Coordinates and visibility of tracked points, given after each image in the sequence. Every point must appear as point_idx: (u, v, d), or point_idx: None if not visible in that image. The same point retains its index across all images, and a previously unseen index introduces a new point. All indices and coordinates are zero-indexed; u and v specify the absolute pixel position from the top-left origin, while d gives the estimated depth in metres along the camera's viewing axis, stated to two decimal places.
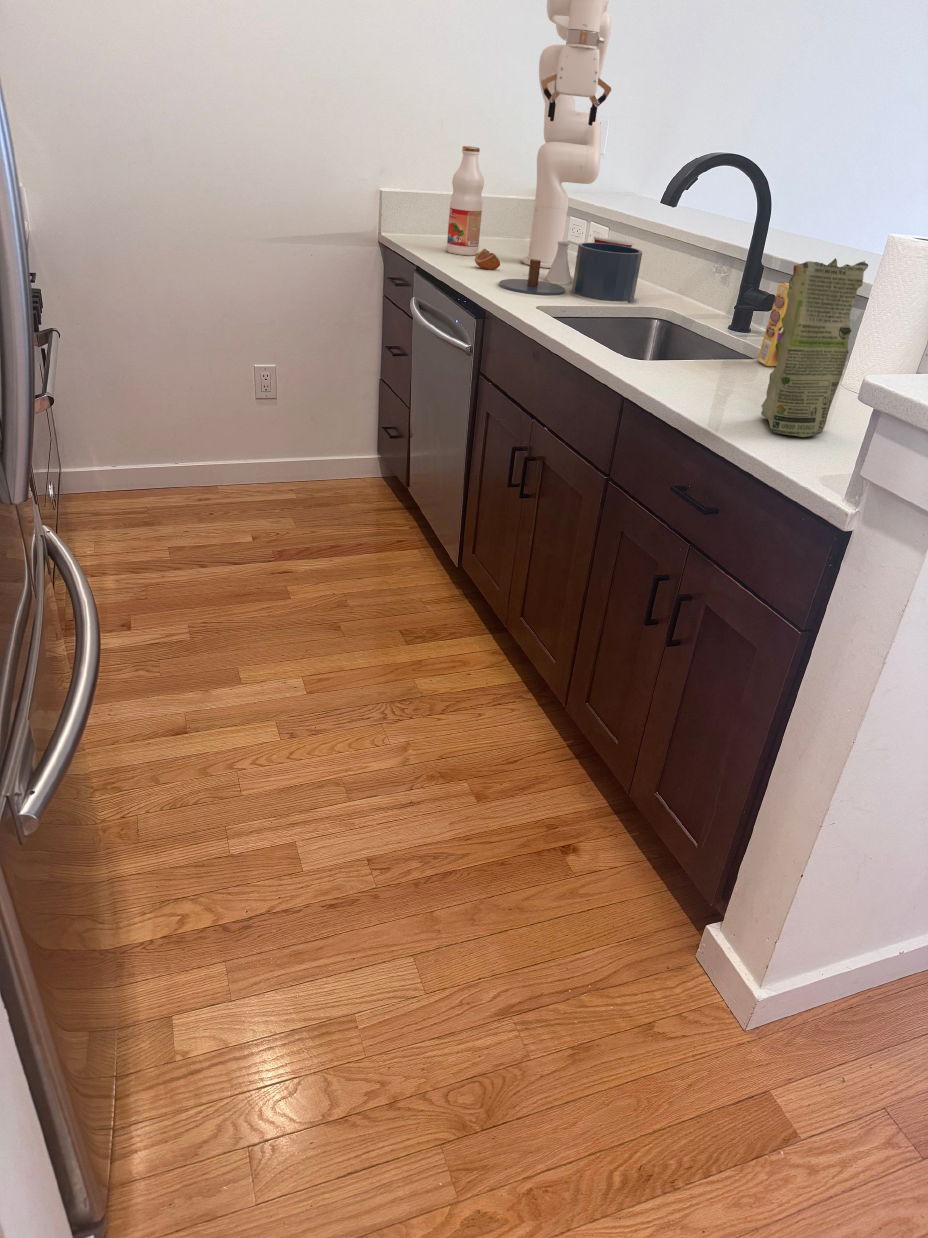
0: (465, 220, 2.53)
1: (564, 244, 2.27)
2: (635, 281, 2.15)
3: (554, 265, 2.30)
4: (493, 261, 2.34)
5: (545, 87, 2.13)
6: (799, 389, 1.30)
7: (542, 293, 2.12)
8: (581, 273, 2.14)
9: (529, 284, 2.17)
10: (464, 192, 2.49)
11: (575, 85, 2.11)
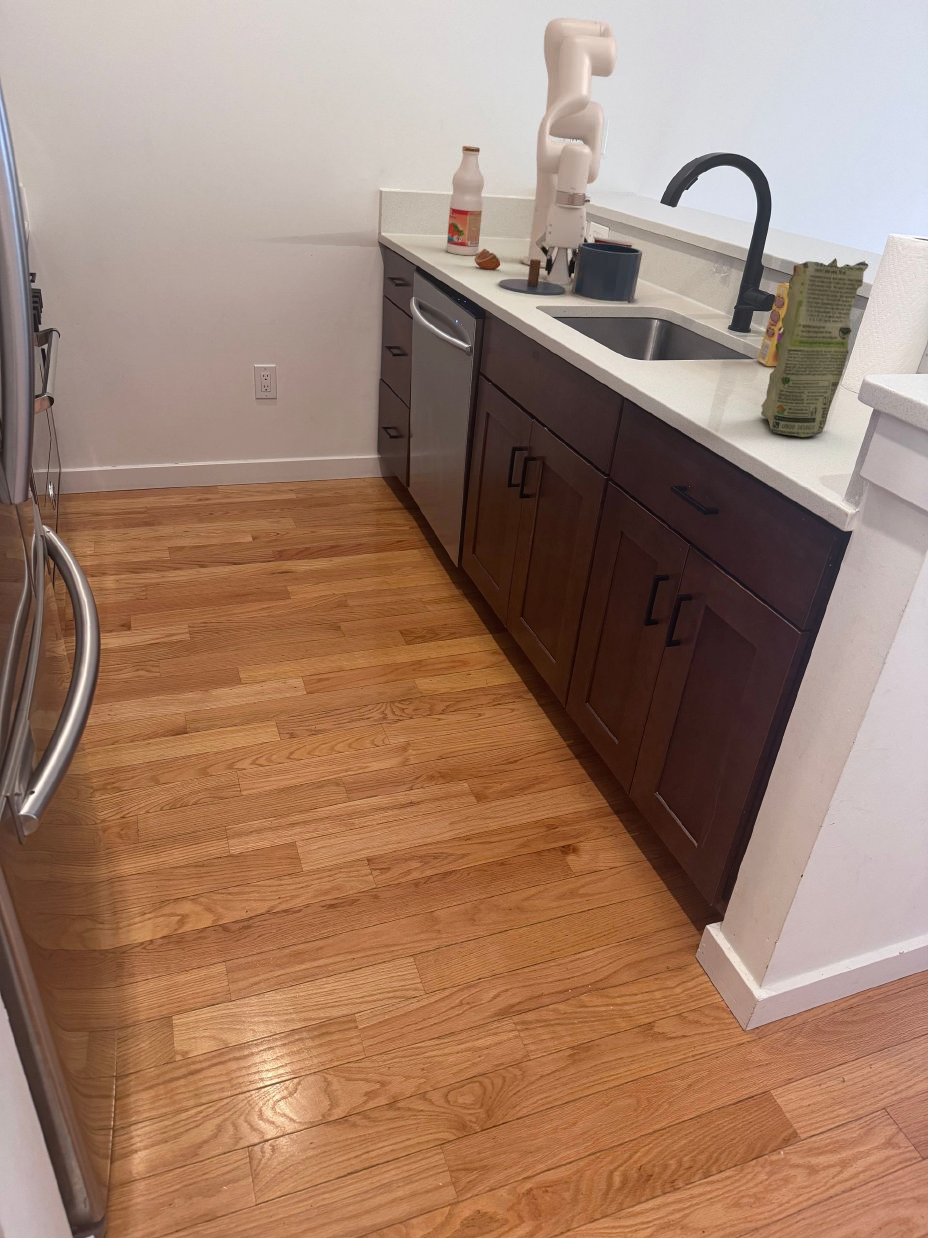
0: (465, 220, 2.53)
1: None
2: (635, 281, 2.15)
3: (554, 265, 2.30)
4: (493, 261, 2.34)
5: (542, 245, 2.28)
6: (799, 389, 1.30)
7: (542, 293, 2.12)
8: (581, 273, 2.14)
9: (529, 284, 2.17)
10: (464, 192, 2.49)
11: (563, 239, 2.26)
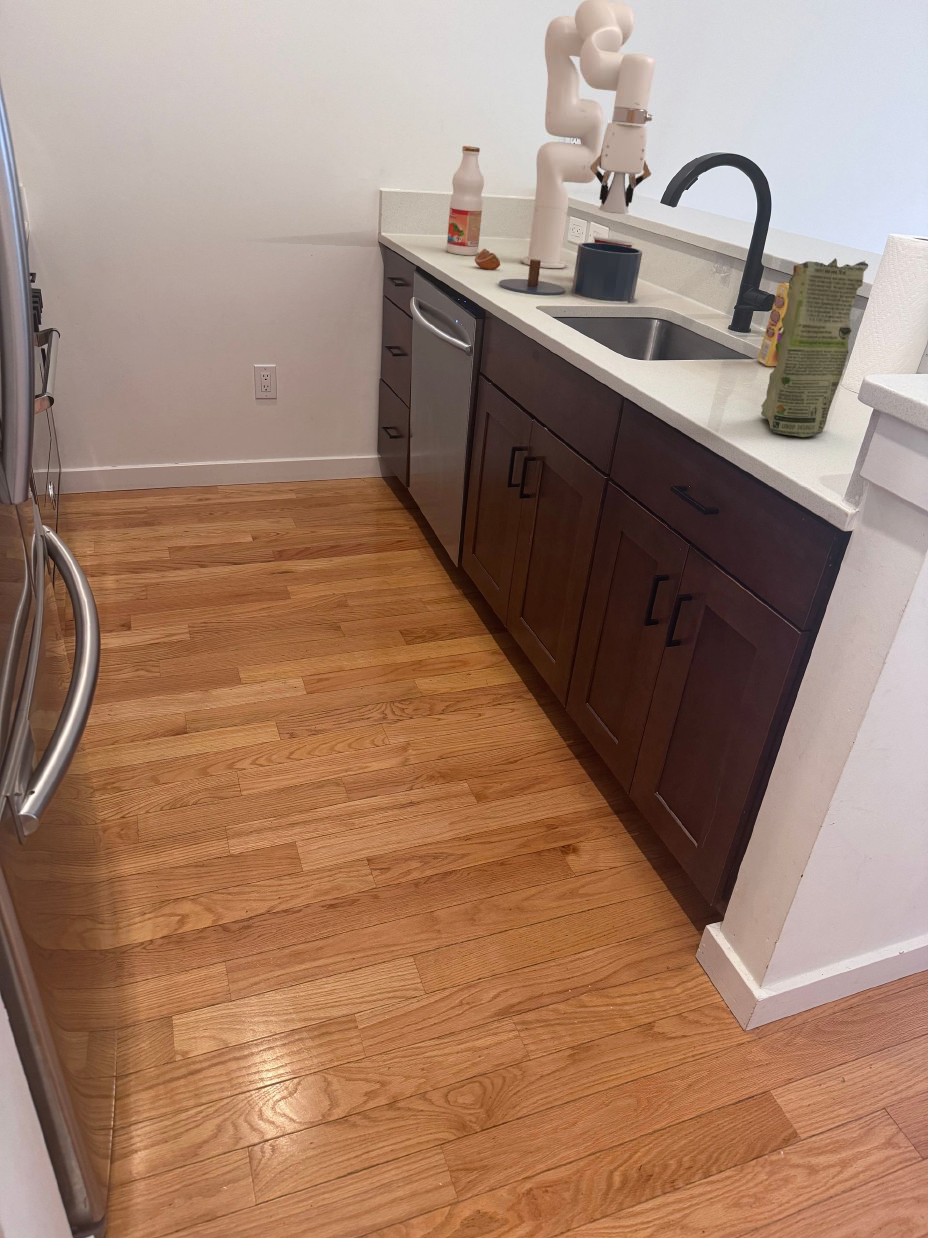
0: (465, 220, 2.53)
1: None
2: (635, 281, 2.15)
3: (610, 192, 2.08)
4: (493, 261, 2.34)
5: (598, 170, 2.07)
6: (799, 389, 1.30)
7: (542, 293, 2.12)
8: (581, 273, 2.14)
9: (529, 284, 2.17)
10: (464, 192, 2.49)
11: (621, 162, 2.04)
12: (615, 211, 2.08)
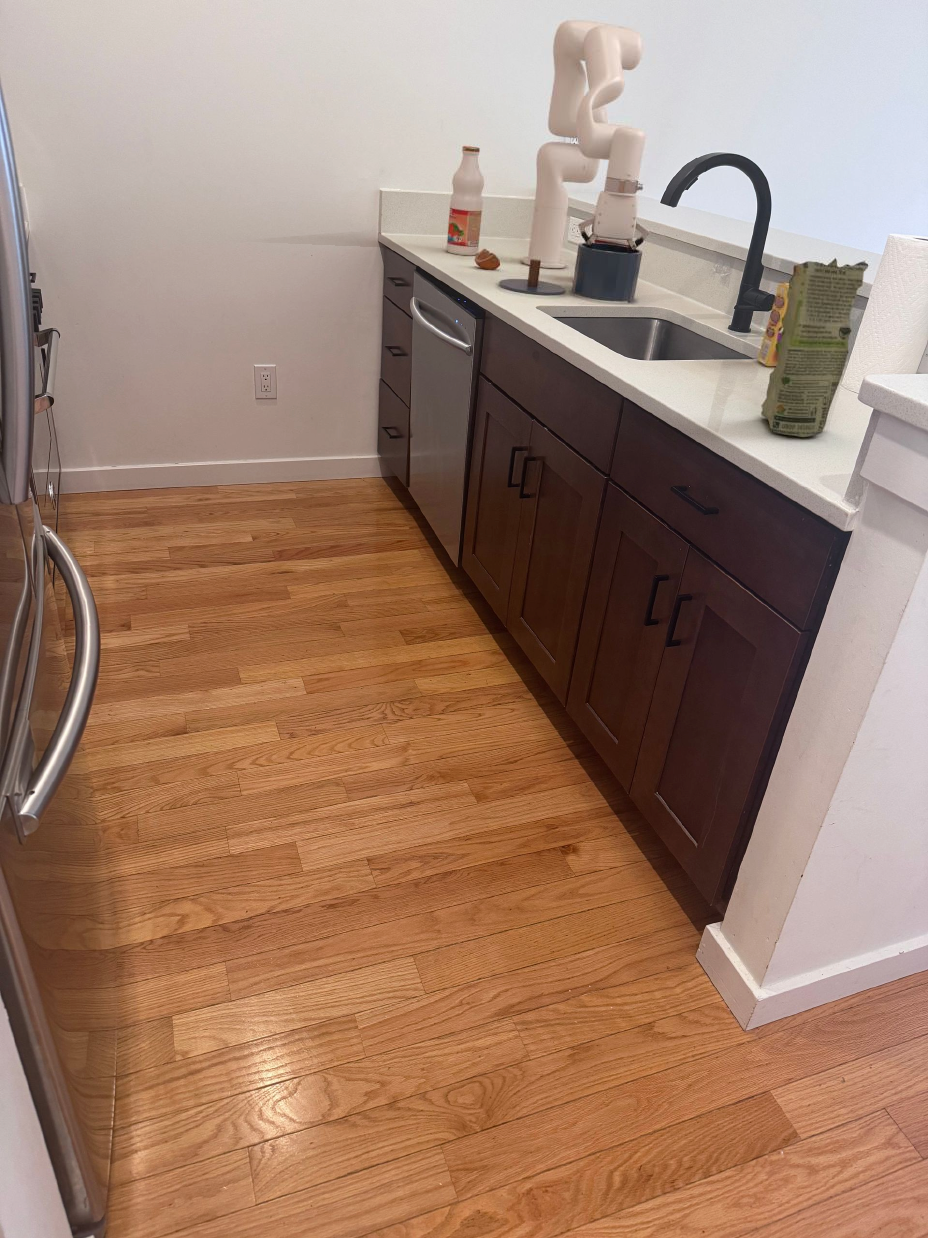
0: (465, 220, 2.53)
1: None
2: (635, 281, 2.15)
3: None
4: (493, 261, 2.34)
5: (583, 231, 2.13)
6: (799, 389, 1.30)
7: (542, 293, 2.12)
8: (581, 273, 2.14)
9: (529, 284, 2.17)
10: (464, 192, 2.49)
11: (612, 229, 2.11)
12: None
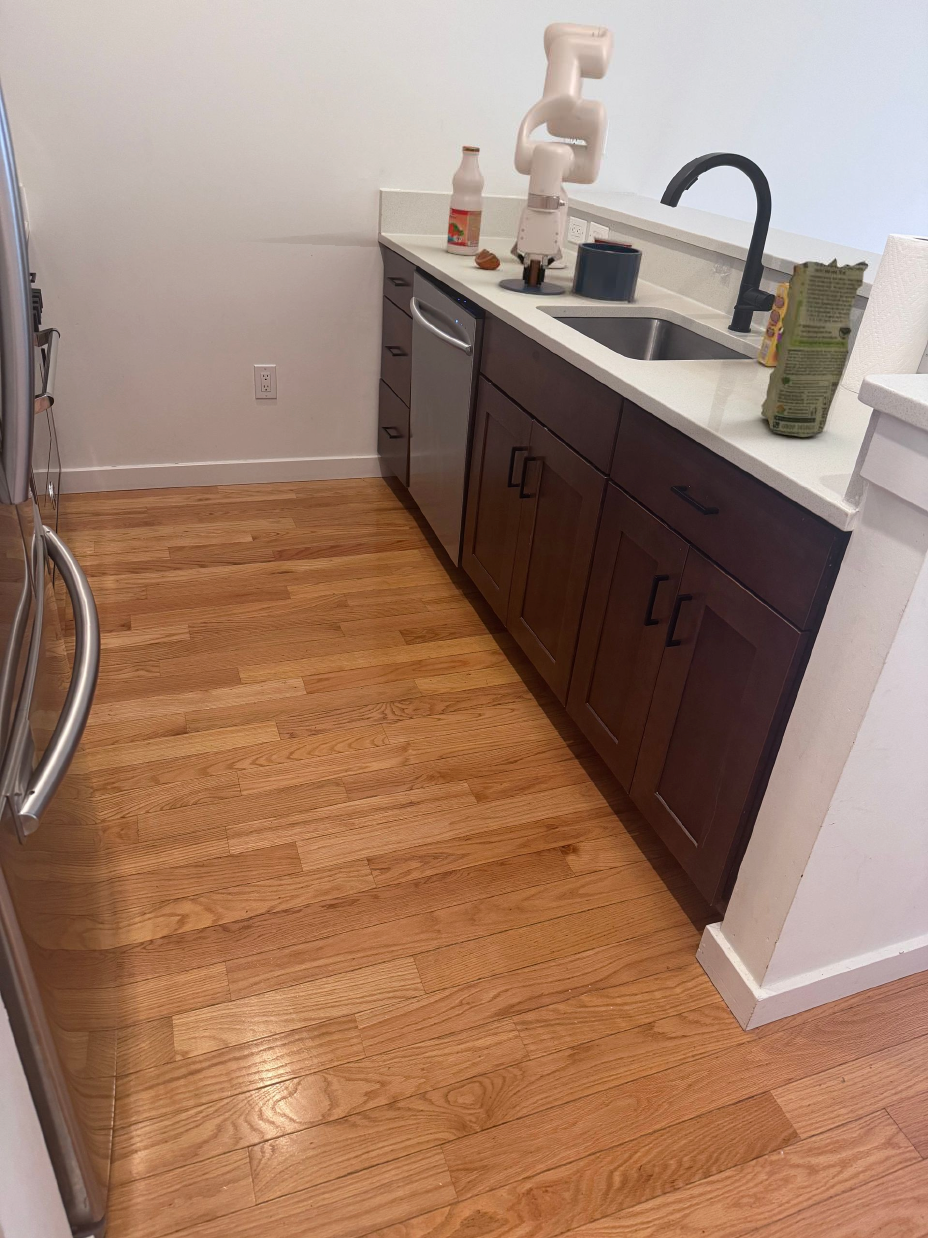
0: (465, 220, 2.53)
1: None
2: (635, 281, 2.15)
3: None
4: (493, 261, 2.34)
5: (519, 253, 2.14)
6: (799, 389, 1.30)
7: (542, 293, 2.12)
8: (581, 273, 2.14)
9: (529, 284, 2.17)
10: (464, 192, 2.49)
11: (536, 245, 2.12)
12: None
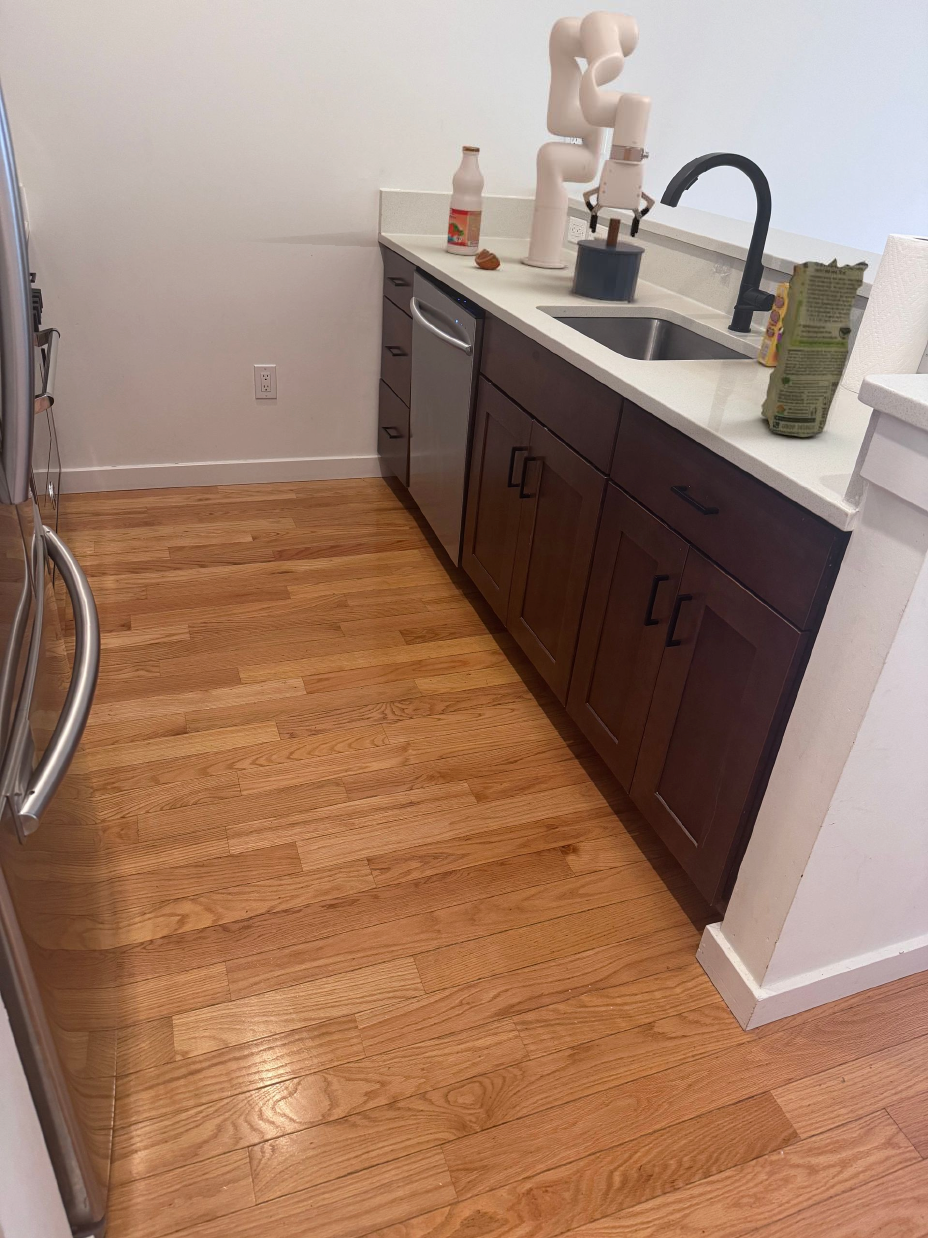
0: (465, 220, 2.53)
1: None
2: (635, 281, 2.15)
3: None
4: (493, 261, 2.34)
5: (587, 200, 2.09)
6: (799, 389, 1.30)
7: (623, 252, 2.08)
8: (581, 273, 2.14)
9: (608, 244, 2.13)
10: (464, 192, 2.49)
11: (618, 199, 2.08)
12: None
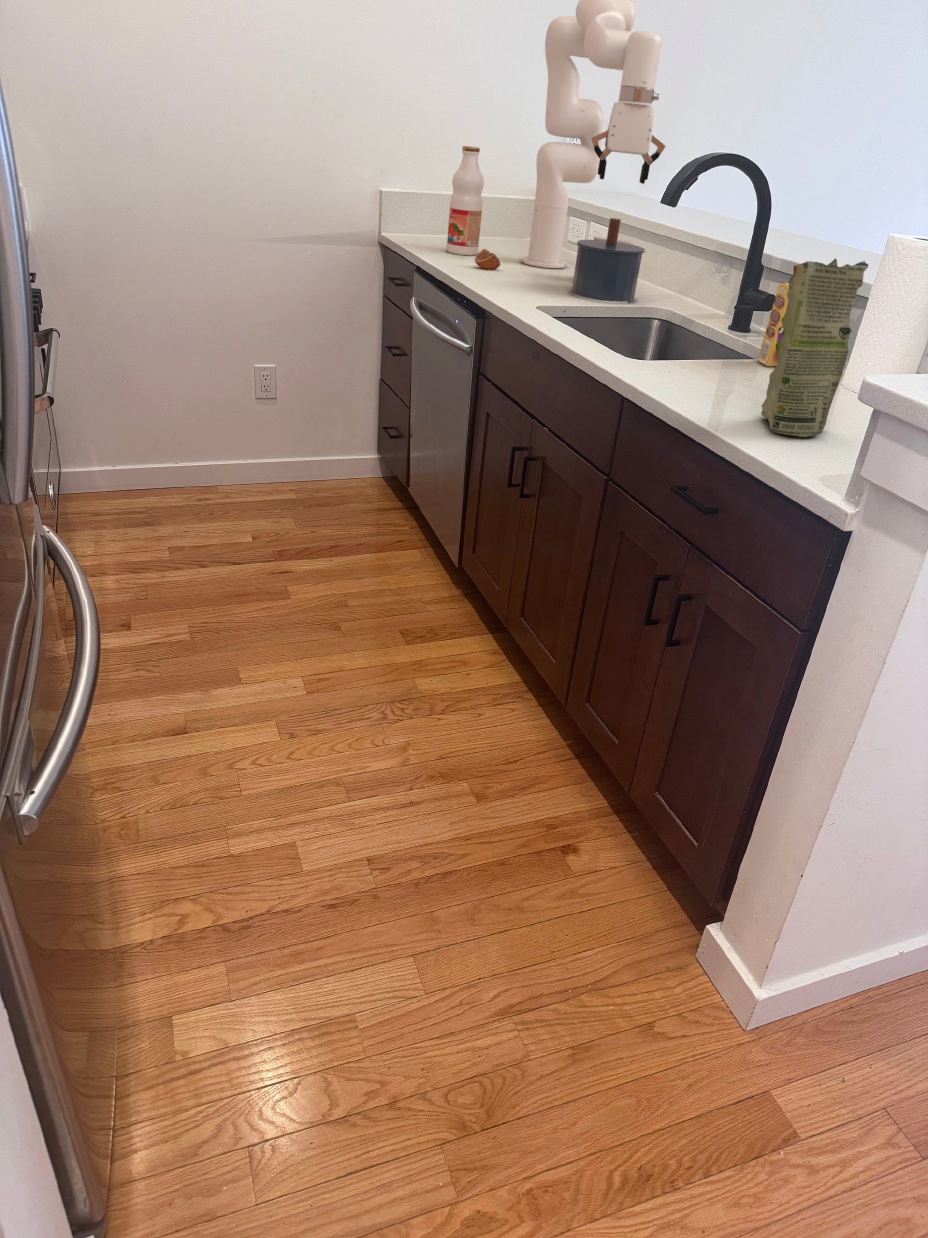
0: (465, 220, 2.53)
1: None
2: (635, 281, 2.15)
3: None
4: (493, 261, 2.34)
5: (596, 144, 2.03)
6: (799, 389, 1.30)
7: (623, 252, 2.08)
8: (581, 273, 2.14)
9: (608, 244, 2.13)
10: (464, 192, 2.49)
11: (627, 142, 2.01)
12: None
